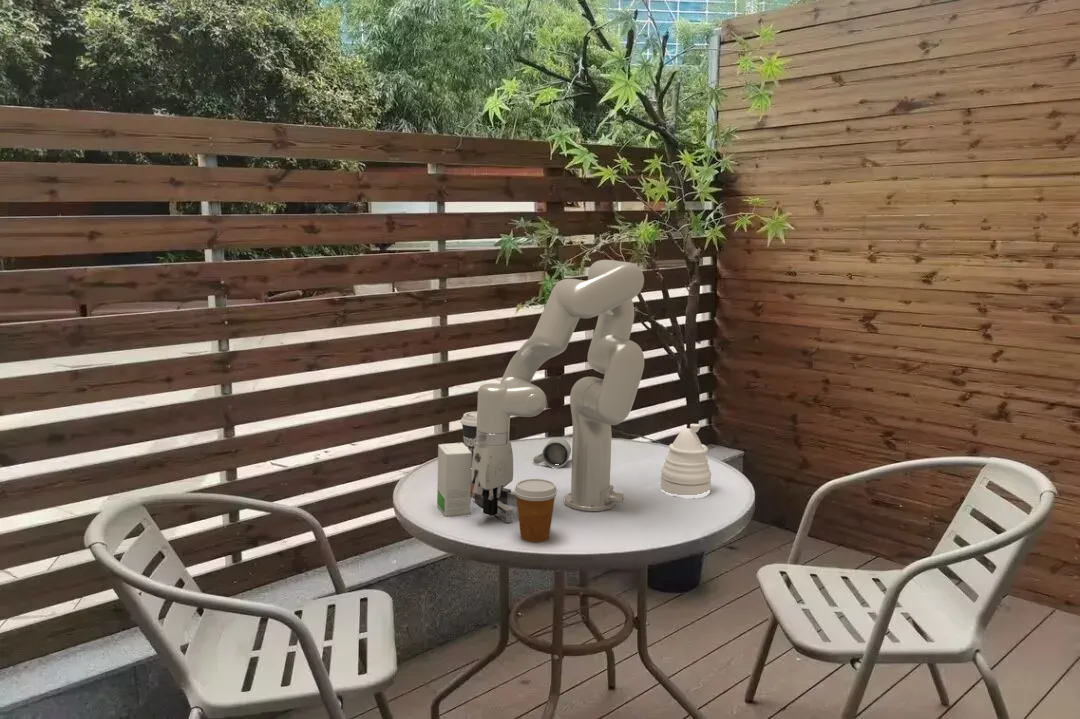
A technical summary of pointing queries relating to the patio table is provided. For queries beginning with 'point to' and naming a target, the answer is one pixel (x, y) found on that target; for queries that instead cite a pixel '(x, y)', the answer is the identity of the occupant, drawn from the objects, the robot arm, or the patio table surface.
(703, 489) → the honey pot
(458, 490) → the skincare box
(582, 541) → the patio table surface
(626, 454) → the patio table surface
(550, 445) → the ceramic mug
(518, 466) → the patio table surface
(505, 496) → the tongs fixed
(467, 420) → the coffee cup
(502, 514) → the tongs arm
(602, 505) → the robot arm
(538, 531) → the disposable coffee cup
